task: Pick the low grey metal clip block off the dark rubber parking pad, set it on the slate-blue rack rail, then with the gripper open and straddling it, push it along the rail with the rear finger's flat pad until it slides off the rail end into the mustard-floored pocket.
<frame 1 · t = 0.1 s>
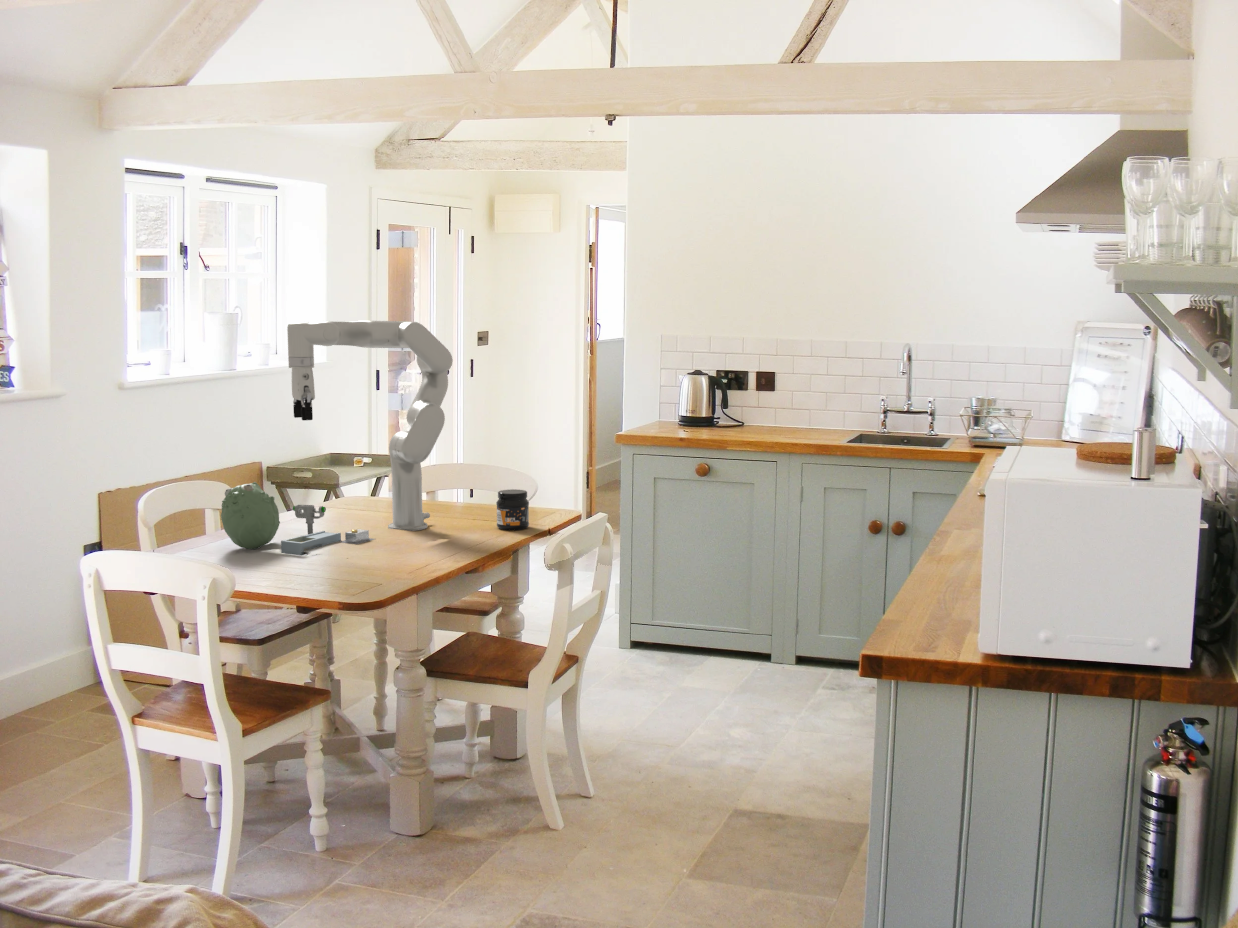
hand: (303, 418, 367), 37 cm above the table, tool pointing down, fingers open, 9 cm apart
clip: (357, 540, 362), point 1 cm above the table, touching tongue
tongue: (357, 544, 362), on the table
rack: (312, 548, 356), on the table
green rounded lump: (252, 549, 356), on the table
supplement container: (512, 528, 389), on the table
mechanical component: (310, 537, 373), on the table
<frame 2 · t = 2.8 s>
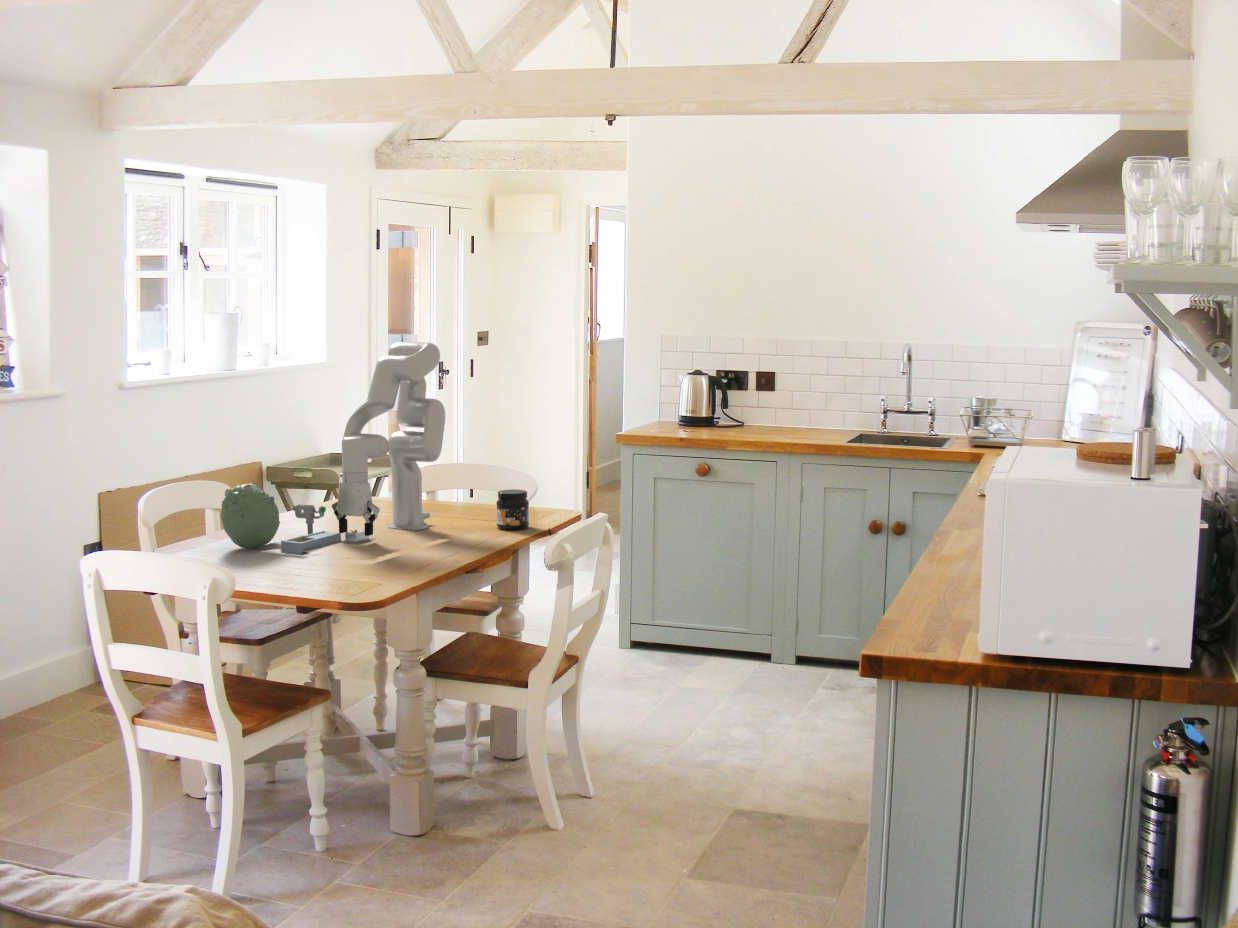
hand: (356, 533, 361), 3 cm above the table, tool pointing down, fingers open, 9 cm apart
nothing on the table moved.
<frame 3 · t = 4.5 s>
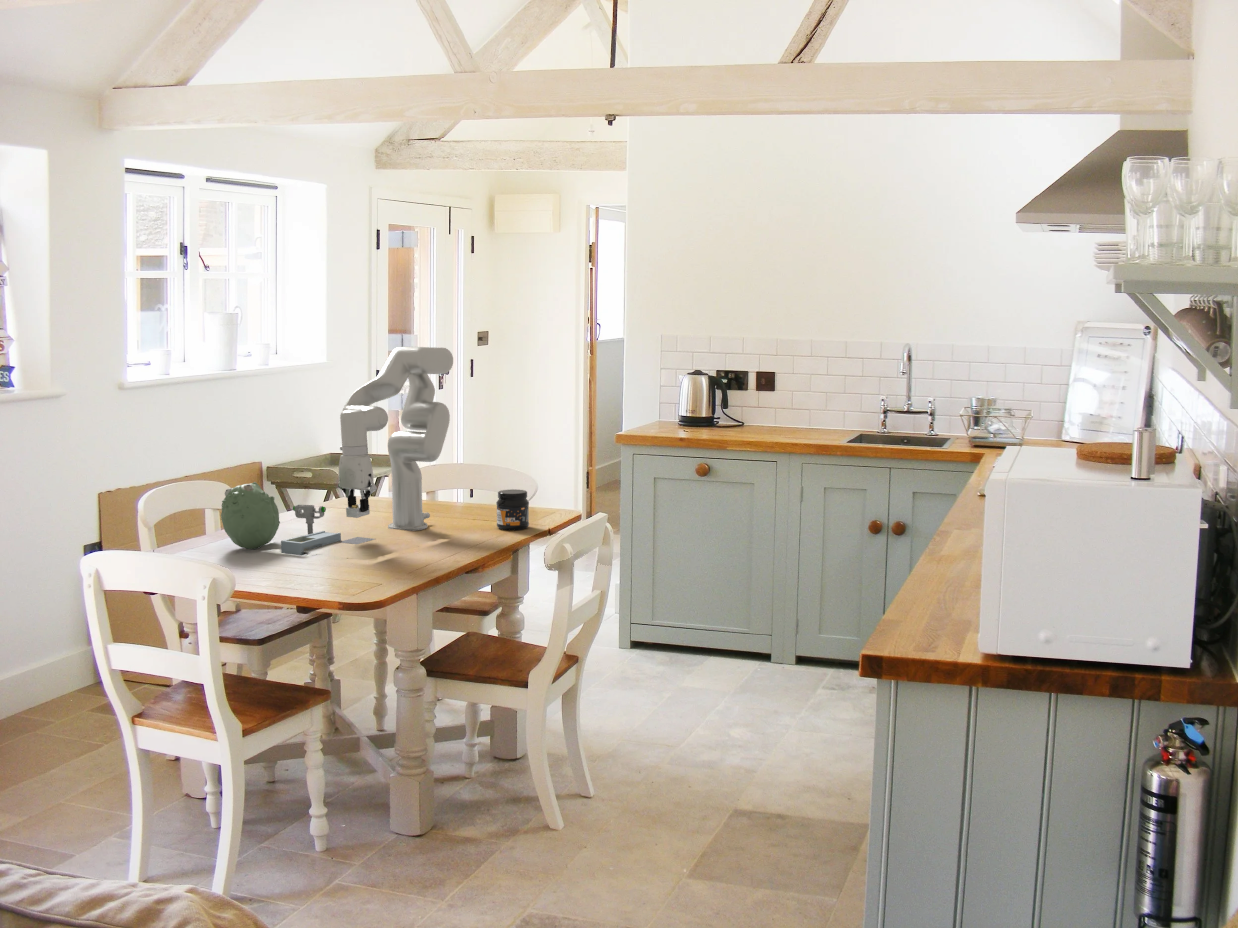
hand: (358, 509, 362), 10 cm above the table, tool pointing down, fingers closed on clip, 3 cm apart
clip: (358, 515, 362), point 9 cm above the table, touching gripper
everything else where it was.
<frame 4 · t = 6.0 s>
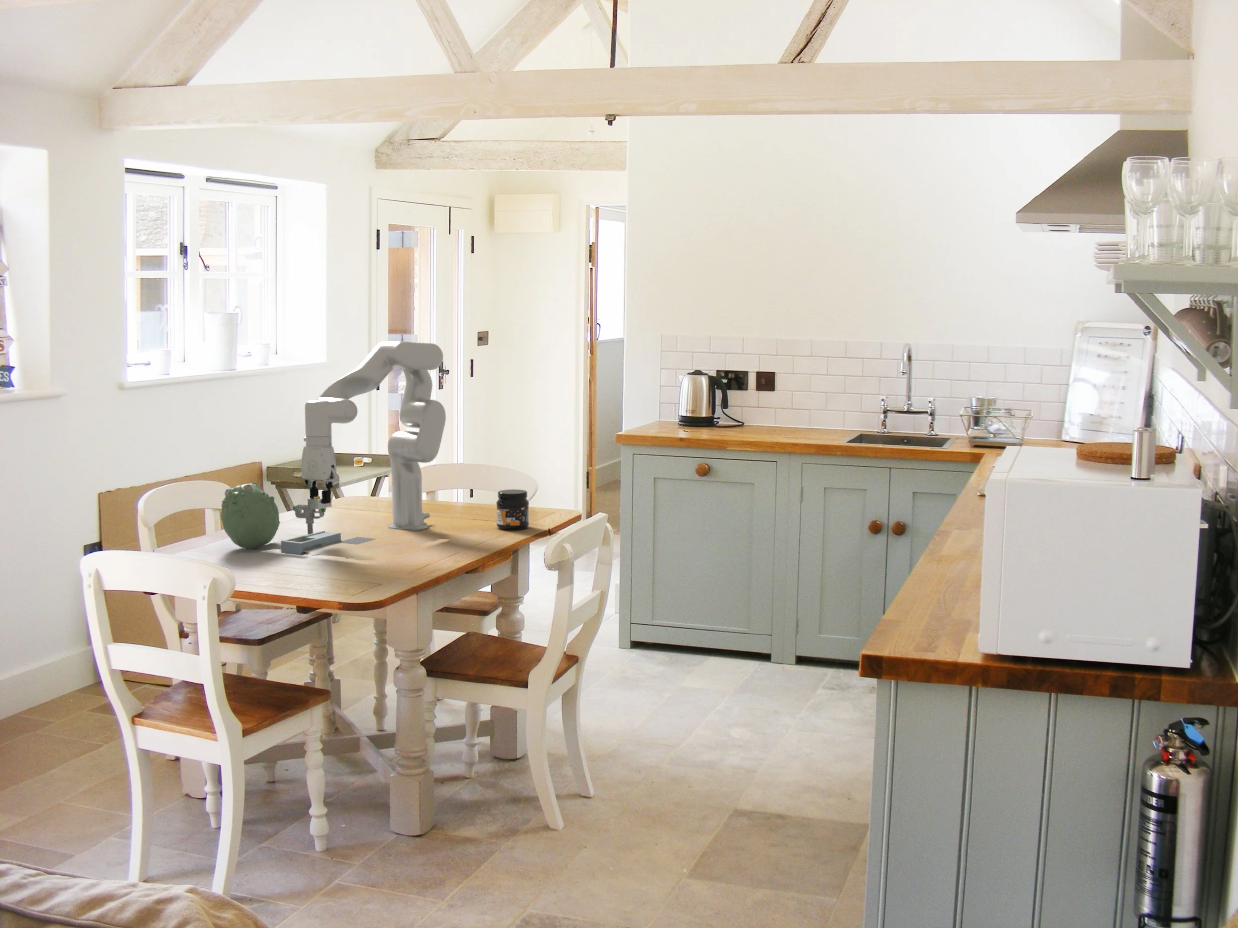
hand: (320, 501, 358), 13 cm above the table, tool pointing down, fingers closed on clip, 3 cm apart
clip: (319, 507, 358), point 12 cm above the table, touching gripper
everything else where it was.
when the fingers open (5 cm above the table, at t = 7.8 s): clip stays where it is, resting on rack.
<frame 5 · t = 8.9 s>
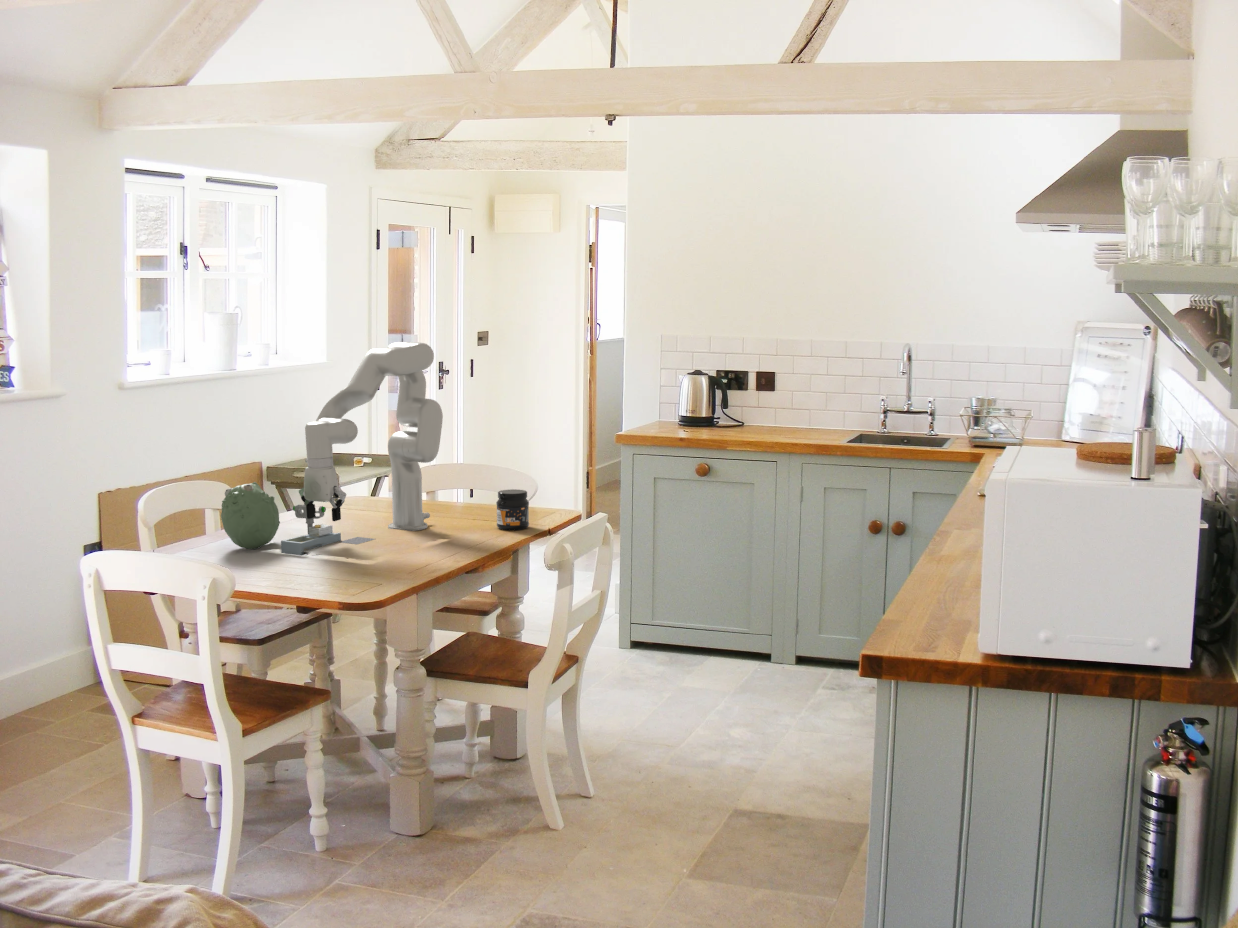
hand: (323, 519, 359), 8 cm above the table, tool pointing down, fingers open, 9 cm apart
clip: (320, 535, 359), point 3 cm above the table, touching rack
everything else where it was.
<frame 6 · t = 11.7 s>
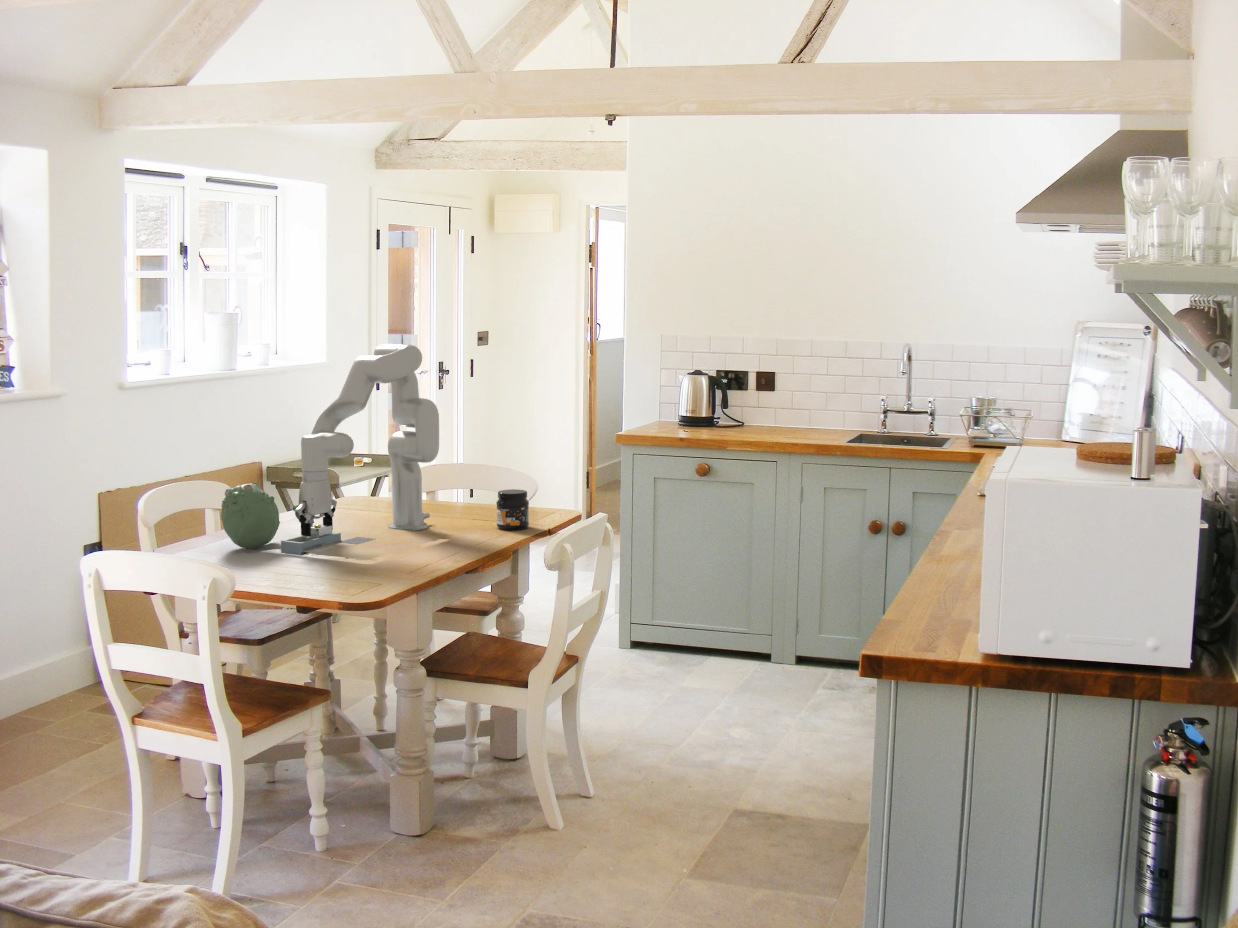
hand: (317, 532, 357), 4 cm above the table, tool pointing down, fingers open, 9 cm apart
clip: (320, 535, 359), point 3 cm above the table, touching gripper, rack
everything else where it was.
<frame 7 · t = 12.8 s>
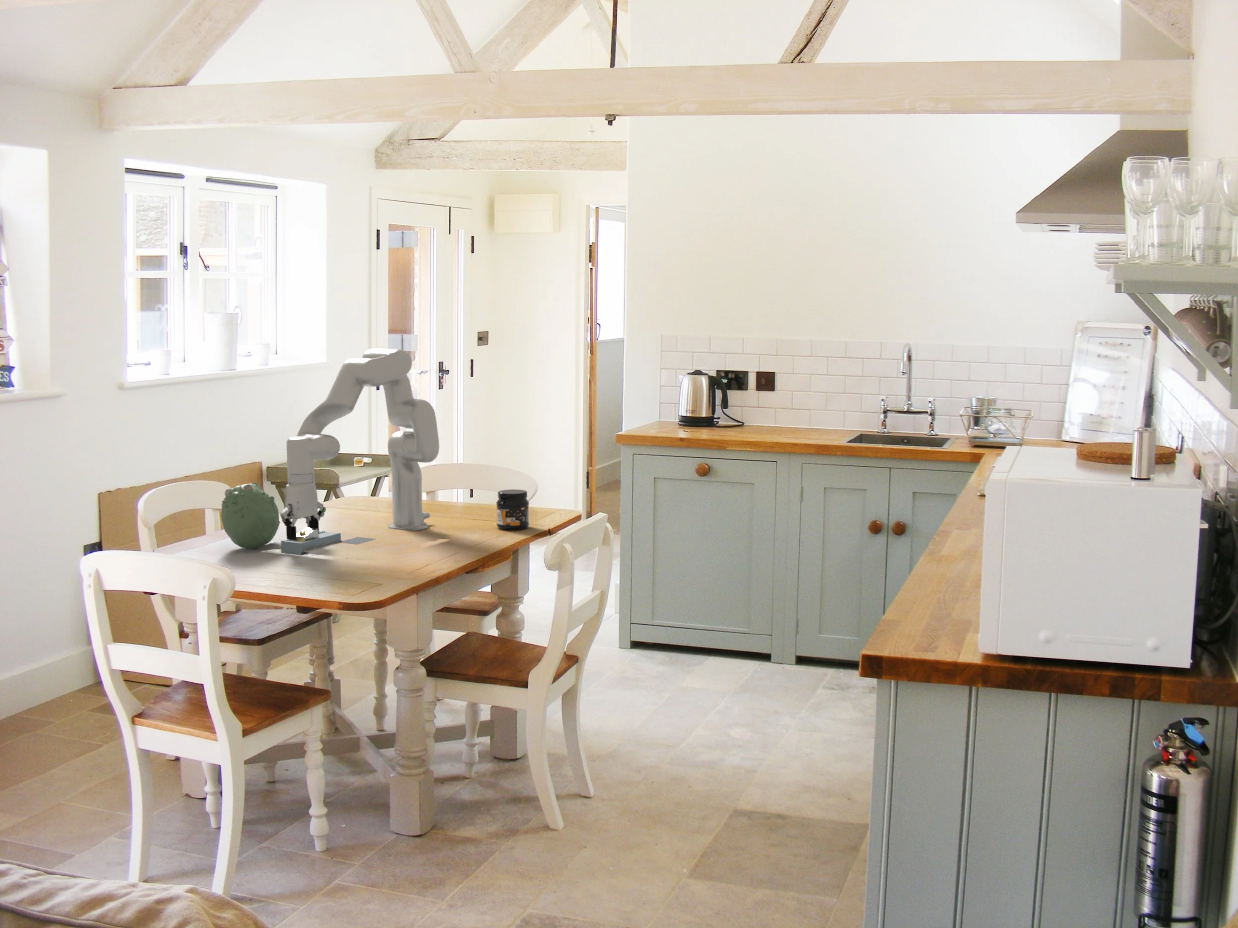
hand: (303, 536, 352), 4 cm above the table, tool pointing down, fingers open, 9 cm apart
clip: (307, 540, 354), point 3 cm above the table, tilted 14°, touching gripper
everything else where it was.
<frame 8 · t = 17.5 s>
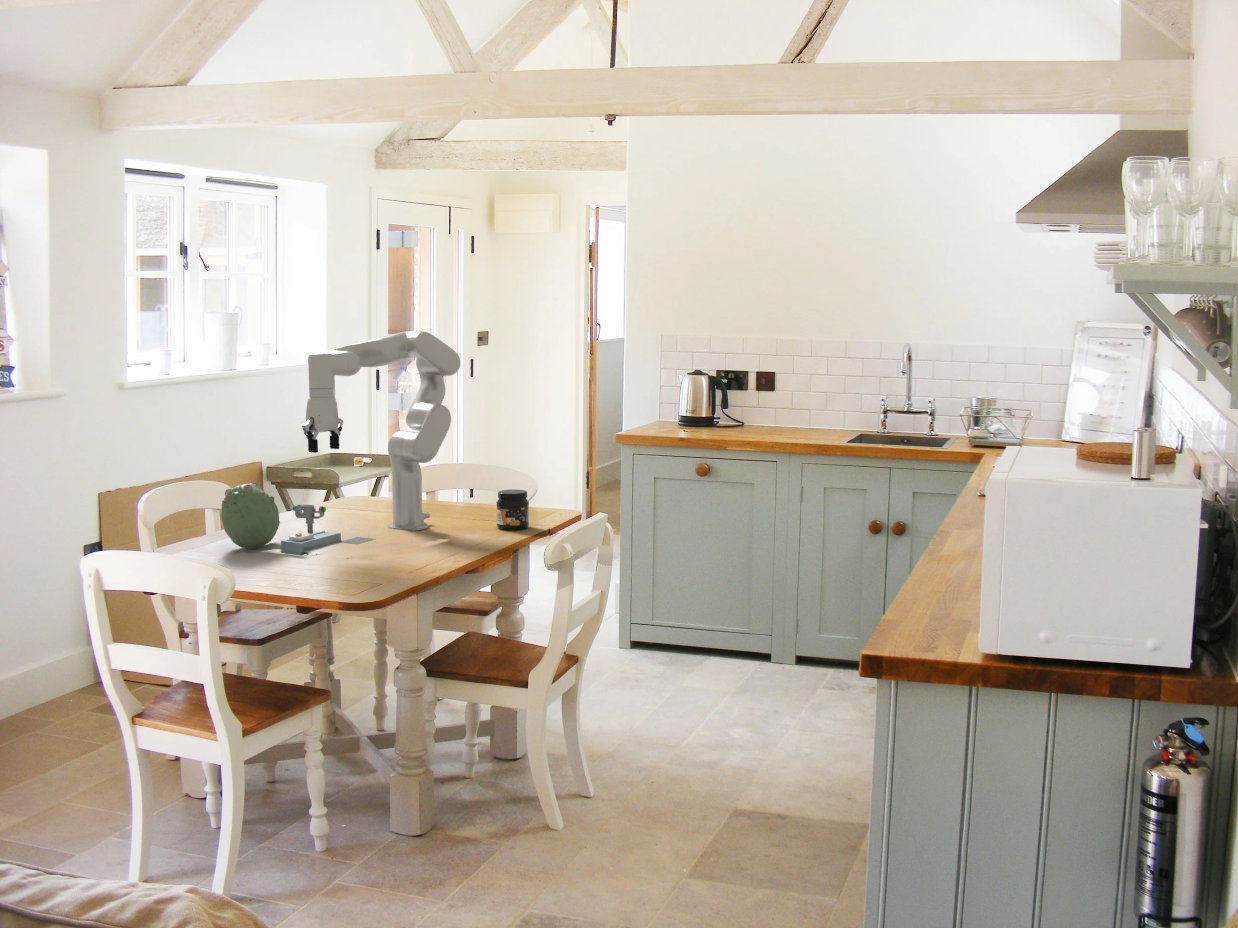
hand: (324, 450, 361), 28 cm above the table, tool pointing down, fingers open, 9 cm apart
clip: (301, 544, 352), point 2 cm above the table, touching rack
everything else where it was.
at the end: clip 0.2 cm from the target spot on the rack, point 2.0 cm above the rack's base; the gripper is holding nothing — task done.
